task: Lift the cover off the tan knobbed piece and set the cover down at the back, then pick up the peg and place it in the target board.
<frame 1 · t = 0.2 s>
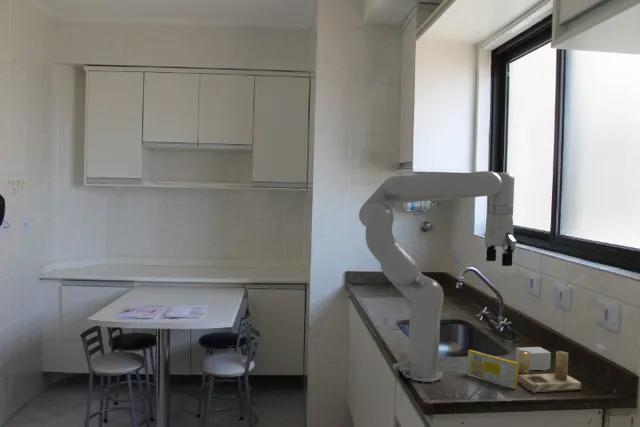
hand: (498, 263, 165), 36 cm above the counter, tool pointing down, fingers open, 9 cm apart
target board: (548, 386, 157), on the counter
cover: (532, 367, 173), on the counter
tan knobbed piece: (532, 367, 173), on the counter
peg: (523, 376, 165), on the counter
candy box: (490, 382, 160), on the counter
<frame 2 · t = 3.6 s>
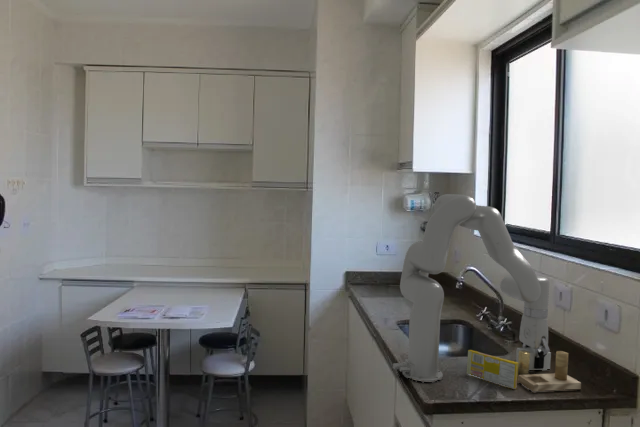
hand: (532, 364, 173), 1 cm above the counter, tool pointing down, fingers closed on cover, 6 cm apart
cover: (532, 367, 173), on the counter, touching gripper
everything else where it was.
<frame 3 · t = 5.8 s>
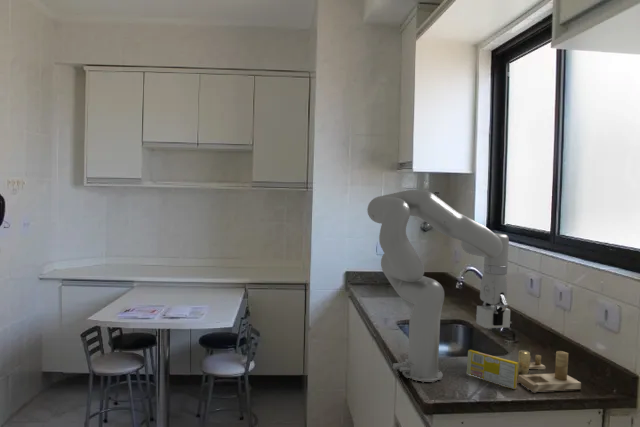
hand: (492, 322, 173), 15 cm above the counter, tool pointing down, fingers closed on cover, 6 cm apart
cover: (492, 325, 173), point 14 cm above the counter, touching gripper
everything else where it was.
when the fingers open (3 cm above the counter, at t = 8.2 s): cover drops 1 cm, on the counter.
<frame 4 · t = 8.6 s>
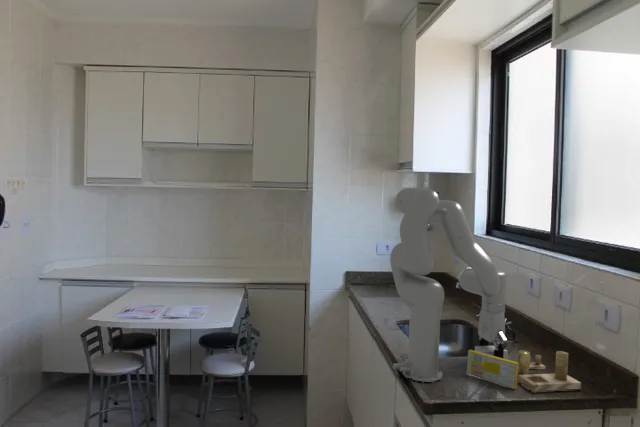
hand: (490, 356, 174), 3 cm above the counter, tool pointing down, fingers open, 9 cm apart
cover: (490, 365, 174), on the counter
everything else where it was.
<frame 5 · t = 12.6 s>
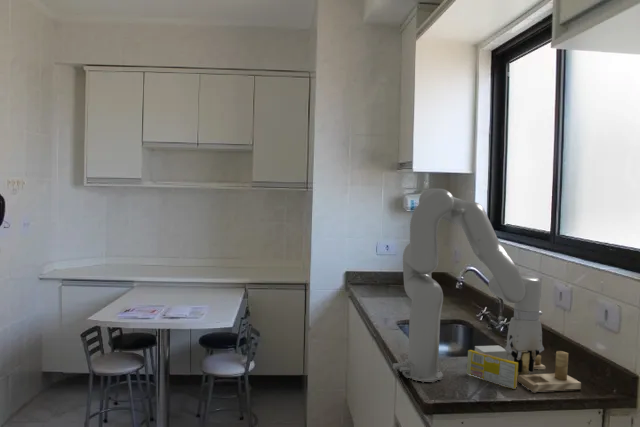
hand: (523, 370, 165), 2 cm above the counter, tool pointing down, fingers closed on peg, 3 cm apart
peg: (523, 376, 165), on the counter, touching gripper
everything else where it was.
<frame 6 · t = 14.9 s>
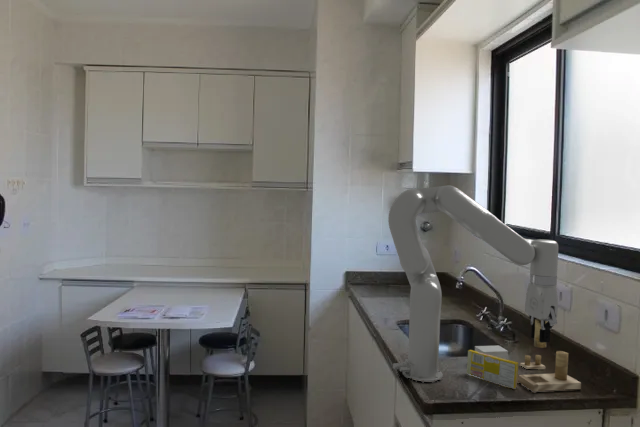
hand: (540, 339, 155), 15 cm above the counter, tool pointing down, fingers closed on peg, 3 cm apart
peg: (540, 346, 155), point 13 cm above the counter, touching gripper
everything else where it was.
when the fingers open (3 cm above the counter, at t = 17.2 s): peg stays where it is, resting in target board.
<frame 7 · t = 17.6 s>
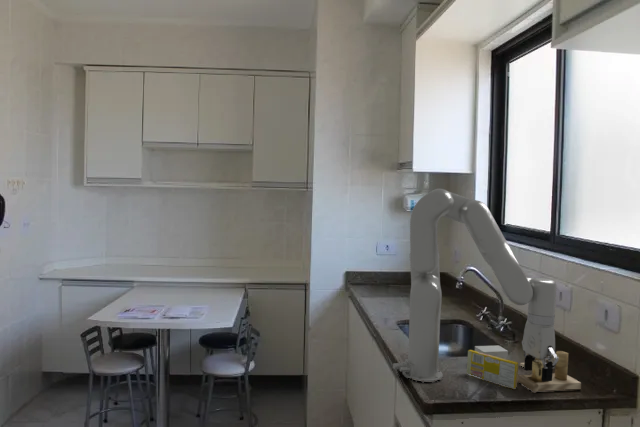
hand: (537, 375, 156), 4 cm above the counter, tool pointing down, fingers open, 8 cm apart
peg: (536, 387, 156), resting in target board
everything else where it was.
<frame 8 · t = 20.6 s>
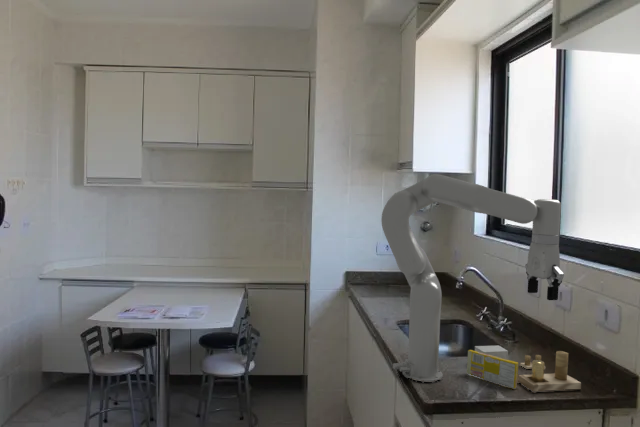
hand: (542, 296, 154), 28 cm above the counter, tool pointing down, fingers open, 9 cm apart
nothing on the counter moved.
at the end: peg 0.0 cm from the target spot on the target board, point 0.0 cm above the target board's base; peg tilted 0°; cover moved 14.2 cm from its start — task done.
